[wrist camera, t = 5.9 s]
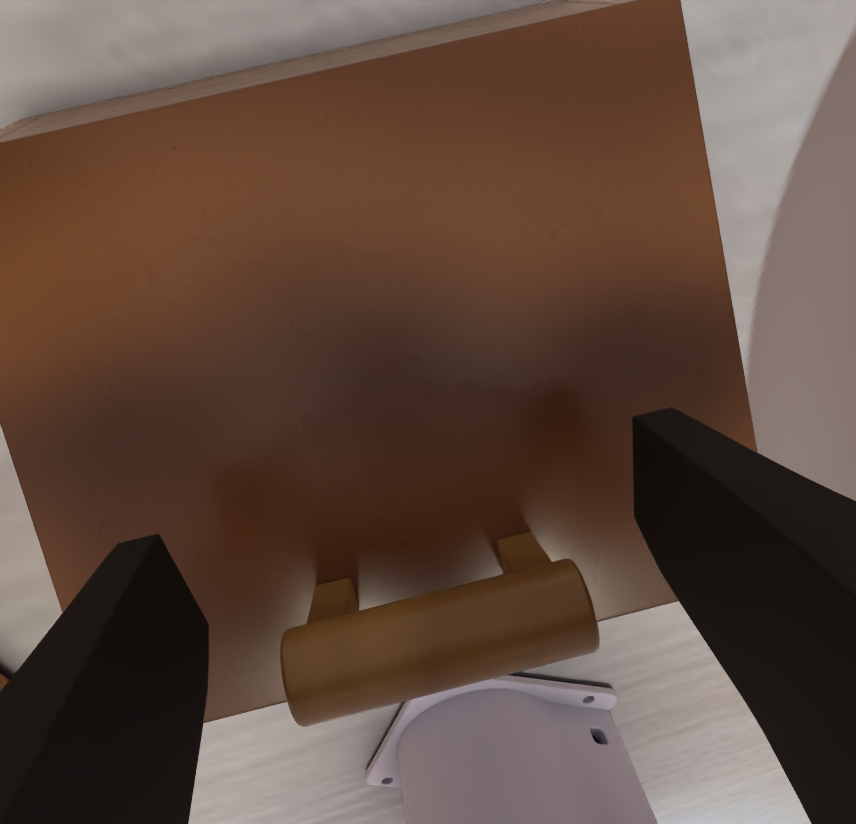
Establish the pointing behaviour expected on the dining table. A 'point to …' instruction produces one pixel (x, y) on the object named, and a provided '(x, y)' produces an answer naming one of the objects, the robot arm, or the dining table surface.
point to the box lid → (374, 351)
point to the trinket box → (298, 66)
